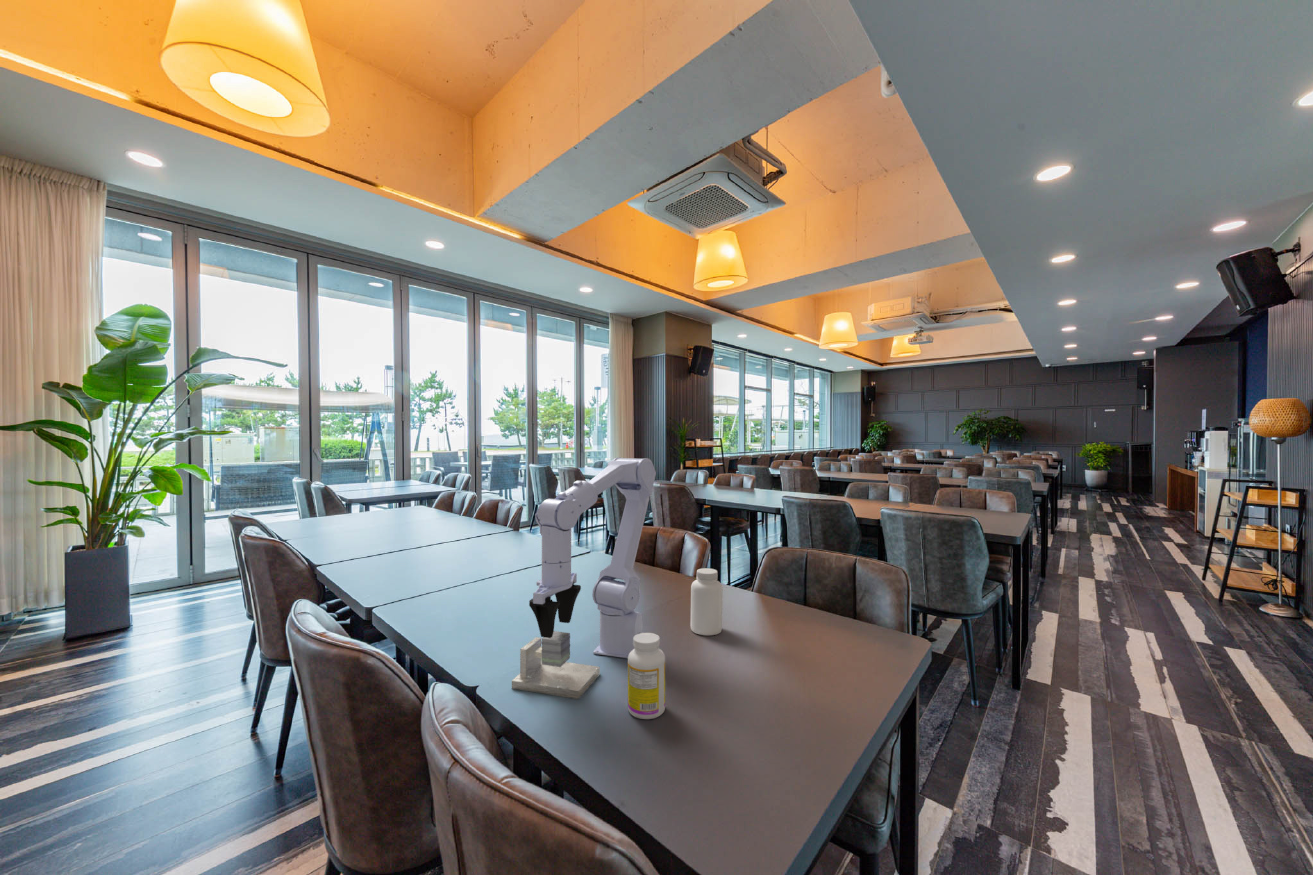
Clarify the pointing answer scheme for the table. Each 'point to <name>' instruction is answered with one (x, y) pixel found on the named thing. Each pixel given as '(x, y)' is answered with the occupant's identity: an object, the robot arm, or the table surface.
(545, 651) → the grey stacked block
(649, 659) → the supplement bottle
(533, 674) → the stand frame
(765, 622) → the table surface
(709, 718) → the table surface
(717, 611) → the pill bottle
